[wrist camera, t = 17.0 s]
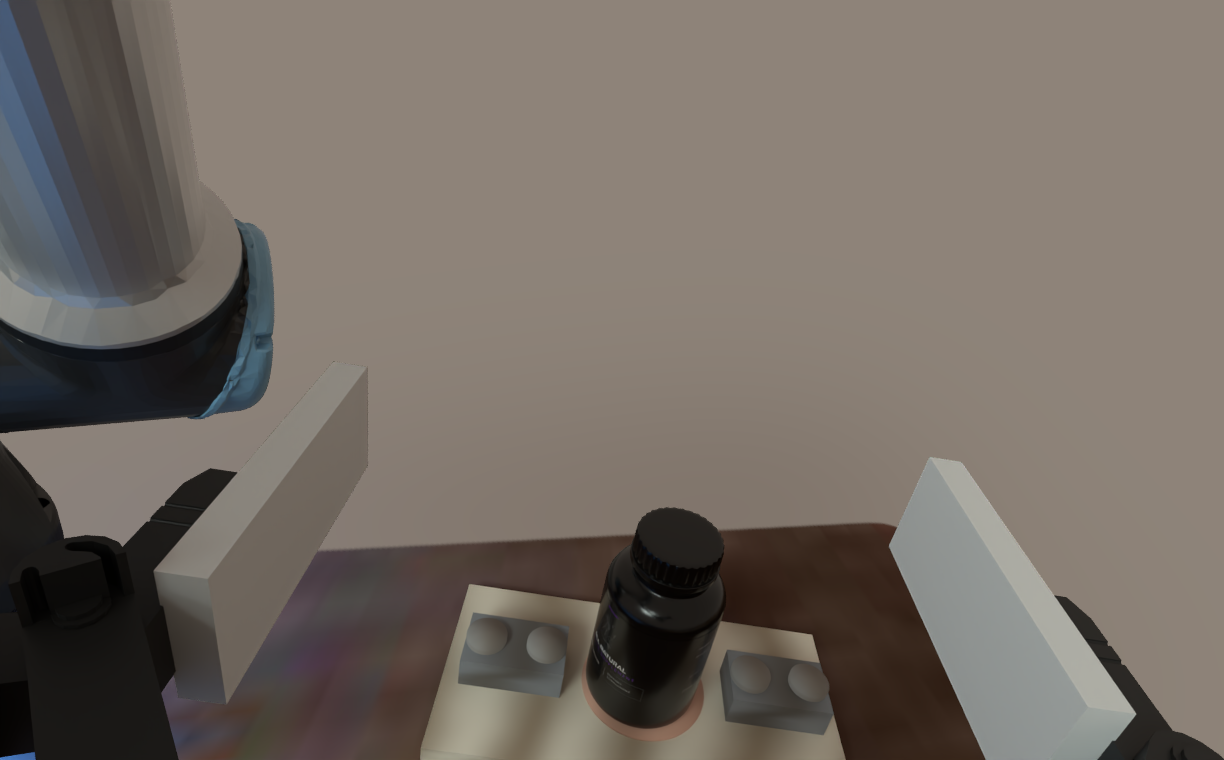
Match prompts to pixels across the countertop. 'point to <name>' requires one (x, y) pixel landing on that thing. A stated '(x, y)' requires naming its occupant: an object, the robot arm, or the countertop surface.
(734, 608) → the countertop surface
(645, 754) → the cream base tray
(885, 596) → the countertop surface
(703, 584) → the supplement bottle
